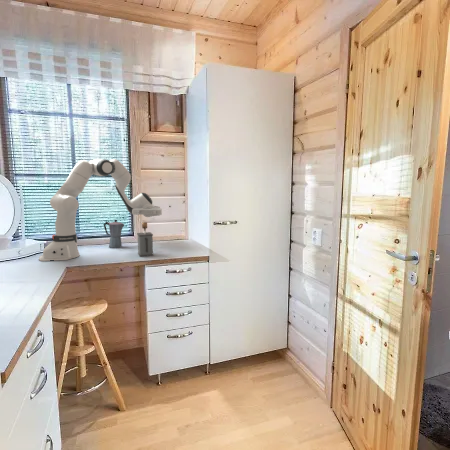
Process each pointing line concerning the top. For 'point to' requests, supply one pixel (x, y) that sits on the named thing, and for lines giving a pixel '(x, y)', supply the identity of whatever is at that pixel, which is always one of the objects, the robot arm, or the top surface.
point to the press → (145, 244)
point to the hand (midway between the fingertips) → (146, 212)
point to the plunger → (144, 226)
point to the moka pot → (114, 233)
